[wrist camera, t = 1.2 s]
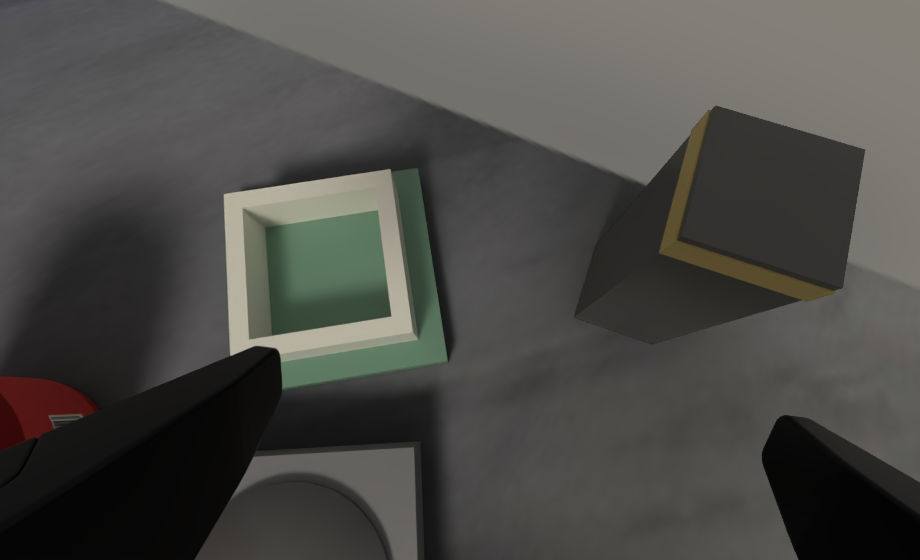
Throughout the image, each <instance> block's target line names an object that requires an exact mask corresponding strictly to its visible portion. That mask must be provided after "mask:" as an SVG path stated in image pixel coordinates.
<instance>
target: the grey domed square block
mask: <svg viewBox="0 0 920 560" xmlns="http://www.w3.org/2000/svg"><path fill="white" fill-rule="evenodd" d="M195 560H425V557H424V528H423V499H422V469H421V441H414V442H397V443H381V444H364V445H347V446H330V447H313V448H296V449H280V450H263V451H256V452H255V455H254V457H253V459H252V461H251V463H250V465H249V467H248V469H247V471H246V473H245V475H244V477H243V479H242V480H241V482H240V484H239V486H238V487H237V489H236V491H235V492H234V494H233V496H232V497H231V499H230V501H229V503H228V504H227V506H226V508H225V509H224V511H223V513H222V514H221V516H220V518H219V519H218V521H217V523H216V524H215V526H214V528H213V530H212V531H211V533H210V535H209V536H208V538H207V540H206V541H205V543H204V545H203V546H202V548H201V550H200V552H199V553H198V555H197V557H196V558H195Z"/></svg>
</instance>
